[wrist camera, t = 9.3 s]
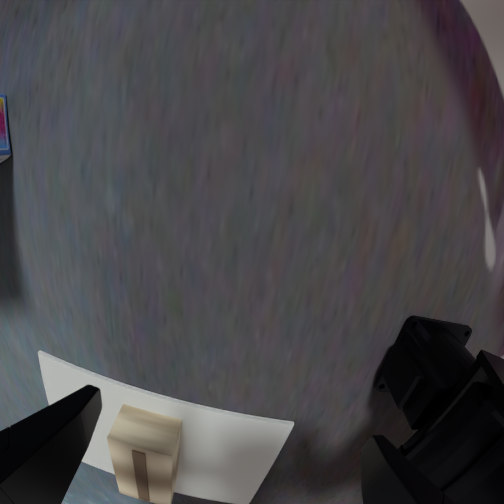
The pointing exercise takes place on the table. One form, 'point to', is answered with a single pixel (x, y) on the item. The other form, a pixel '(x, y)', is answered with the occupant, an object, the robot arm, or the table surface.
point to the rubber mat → (192, 434)
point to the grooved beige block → (145, 454)
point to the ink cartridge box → (4, 130)
